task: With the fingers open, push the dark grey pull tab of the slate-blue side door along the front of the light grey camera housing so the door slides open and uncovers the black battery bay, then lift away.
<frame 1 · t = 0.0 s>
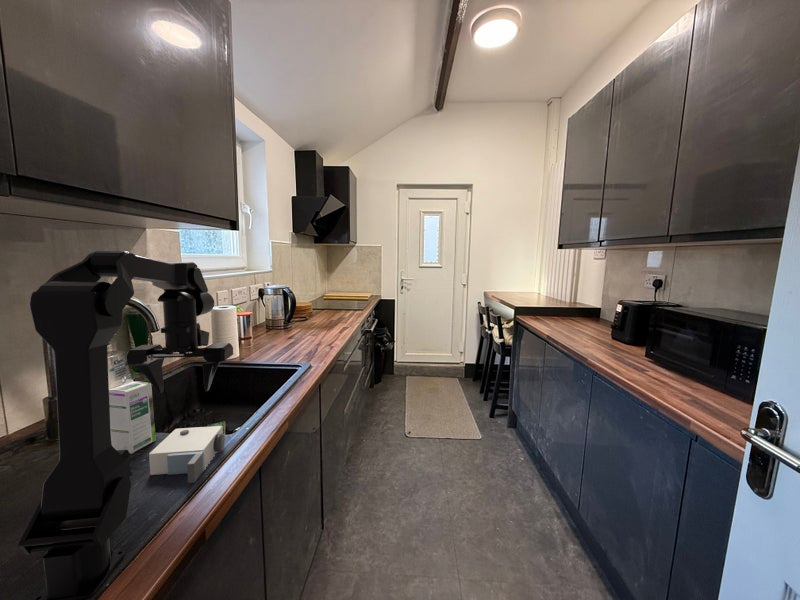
hand: (184, 391, 69), 15 cm above the countertop, tool pointing down, fingers open, 9 cm apart
syrup box: (134, 446, 74), on the countertop
side door: (181, 468, 62), point 2 cm above the countertop, slide at 0.0 cm
camera housing: (189, 458, 69), on the countertop
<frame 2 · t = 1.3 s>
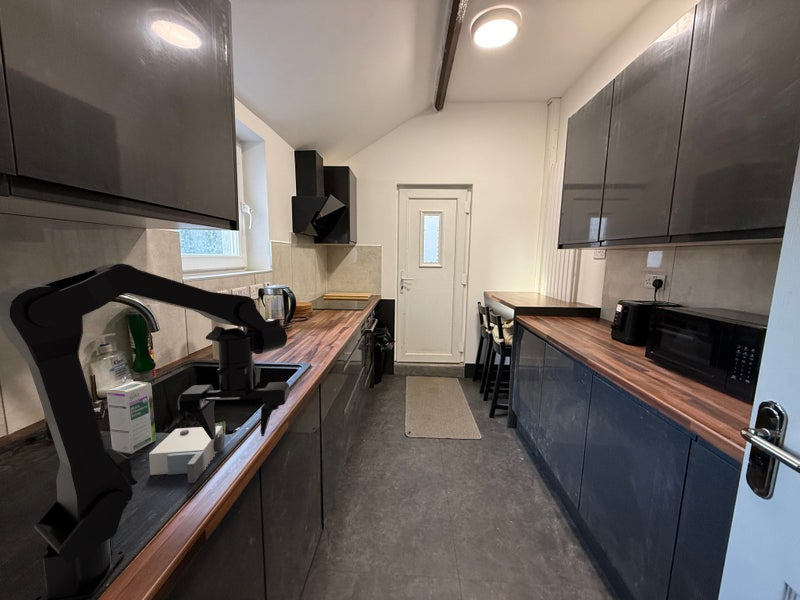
hand: (238, 436, 62), 9 cm above the countertop, tool pointing down, fingers open, 9 cm apart
nothing on the countertop moved.
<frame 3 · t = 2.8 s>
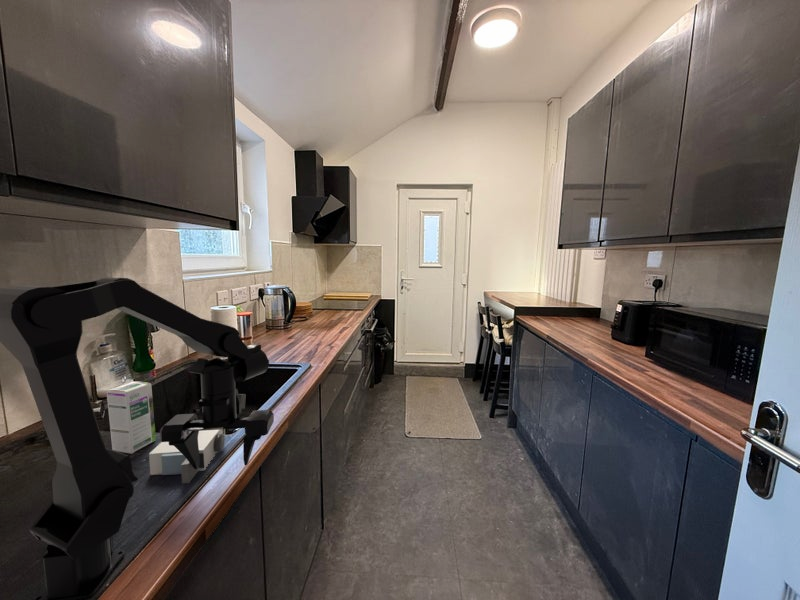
hand: (222, 465, 62), 3 cm above the countertop, tool pointing down, fingers open, 9 cm apart
side door: (175, 468, 62), point 2 cm above the countertop, slide at 1.1 cm, touching gripper
everything else where it was.
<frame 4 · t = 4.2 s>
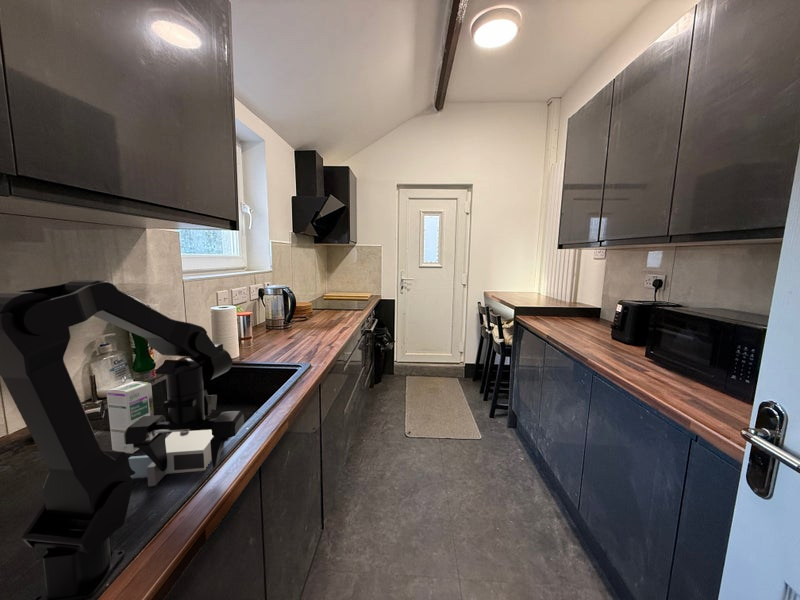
hand: (190, 468, 61), 3 cm above the countertop, tool pointing down, fingers open, 9 cm apart
side door: (142, 471, 61), point 2 cm above the countertop, slide at 6.8 cm, touching gripper
everything else where it was.
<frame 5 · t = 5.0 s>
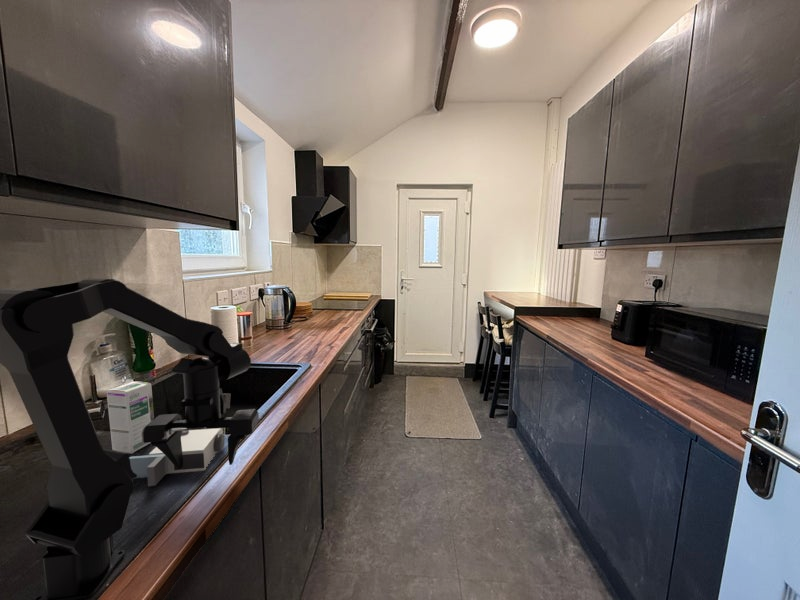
hand: (206, 465, 62), 3 cm above the countertop, tool pointing down, fingers open, 9 cm apart
side door: (142, 471, 61), point 2 cm above the countertop, slide at 6.9 cm
everything else where it was.
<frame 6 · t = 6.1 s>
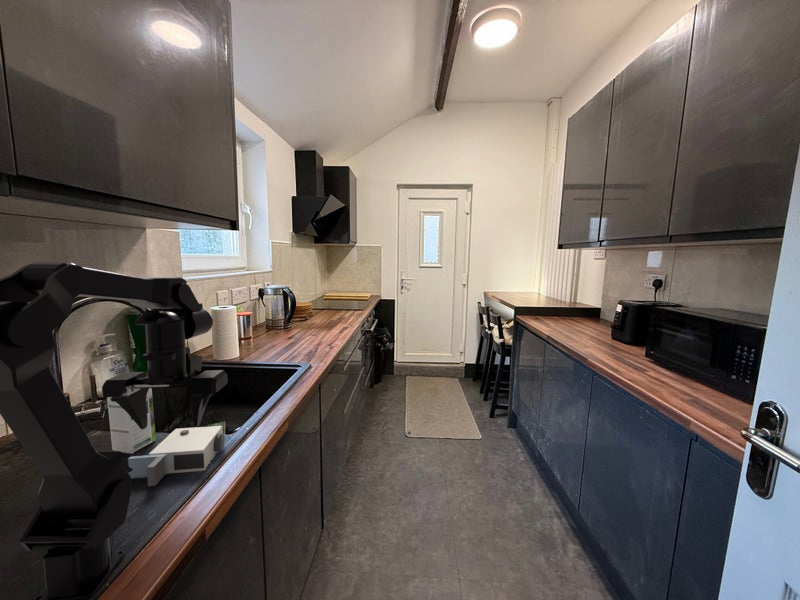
hand: (170, 427, 59), 12 cm above the countertop, tool pointing down, fingers open, 9 cm apart
nothing on the countertop moved.
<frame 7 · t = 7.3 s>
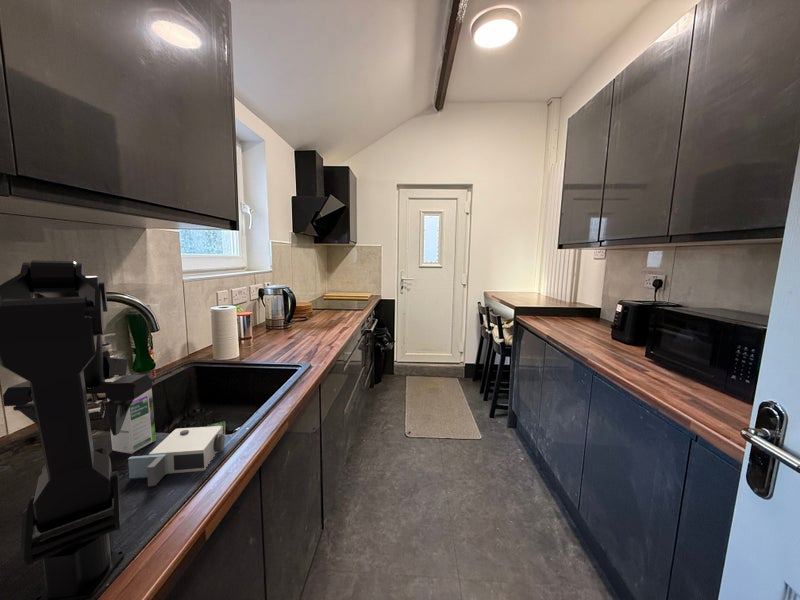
hand: (86, 436, 55), 12 cm above the countertop, tool pointing down, fingers open, 9 cm apart
nothing on the countertop moved.
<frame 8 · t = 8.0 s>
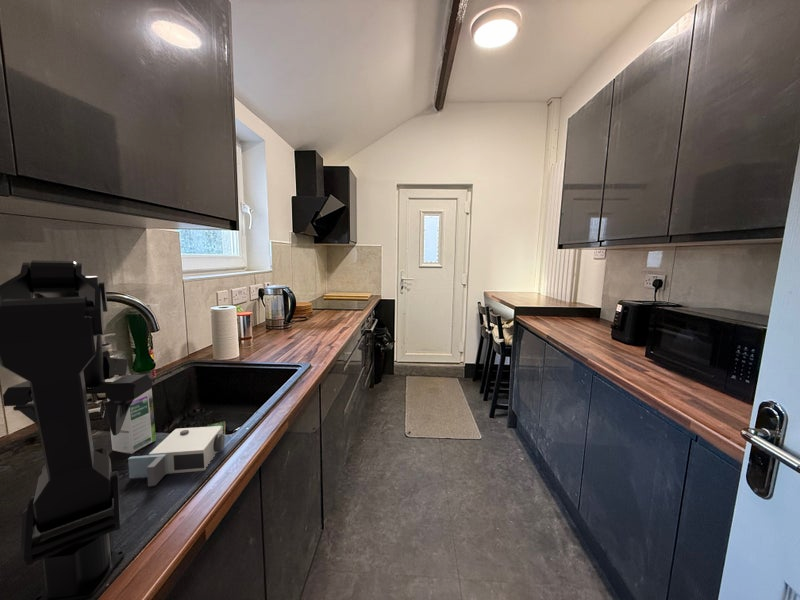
hand: (86, 436, 55), 12 cm above the countertop, tool pointing down, fingers open, 9 cm apart
nothing on the countertop moved.
at the end: side door slide at 6.9 cm; syrup box moved 0.2 cm from its start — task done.
